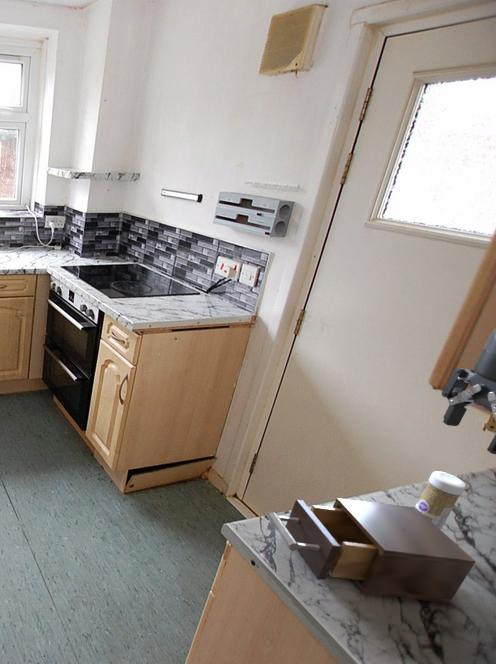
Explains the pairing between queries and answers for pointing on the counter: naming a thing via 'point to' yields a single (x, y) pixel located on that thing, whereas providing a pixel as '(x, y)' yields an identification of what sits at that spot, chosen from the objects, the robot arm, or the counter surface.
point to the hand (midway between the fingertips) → (471, 438)
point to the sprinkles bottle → (440, 497)
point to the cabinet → (408, 553)
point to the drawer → (327, 541)
